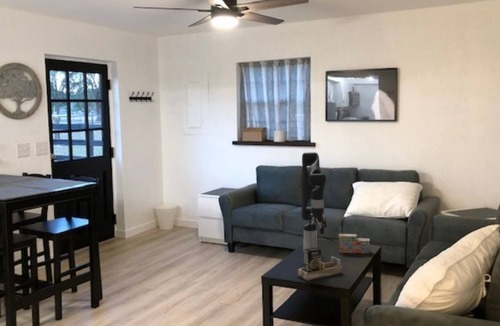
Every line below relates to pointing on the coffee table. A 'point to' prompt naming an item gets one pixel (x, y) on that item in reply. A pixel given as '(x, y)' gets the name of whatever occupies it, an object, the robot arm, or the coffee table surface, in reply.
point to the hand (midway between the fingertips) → (317, 232)
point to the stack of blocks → (353, 244)
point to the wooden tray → (329, 270)
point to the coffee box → (312, 259)
